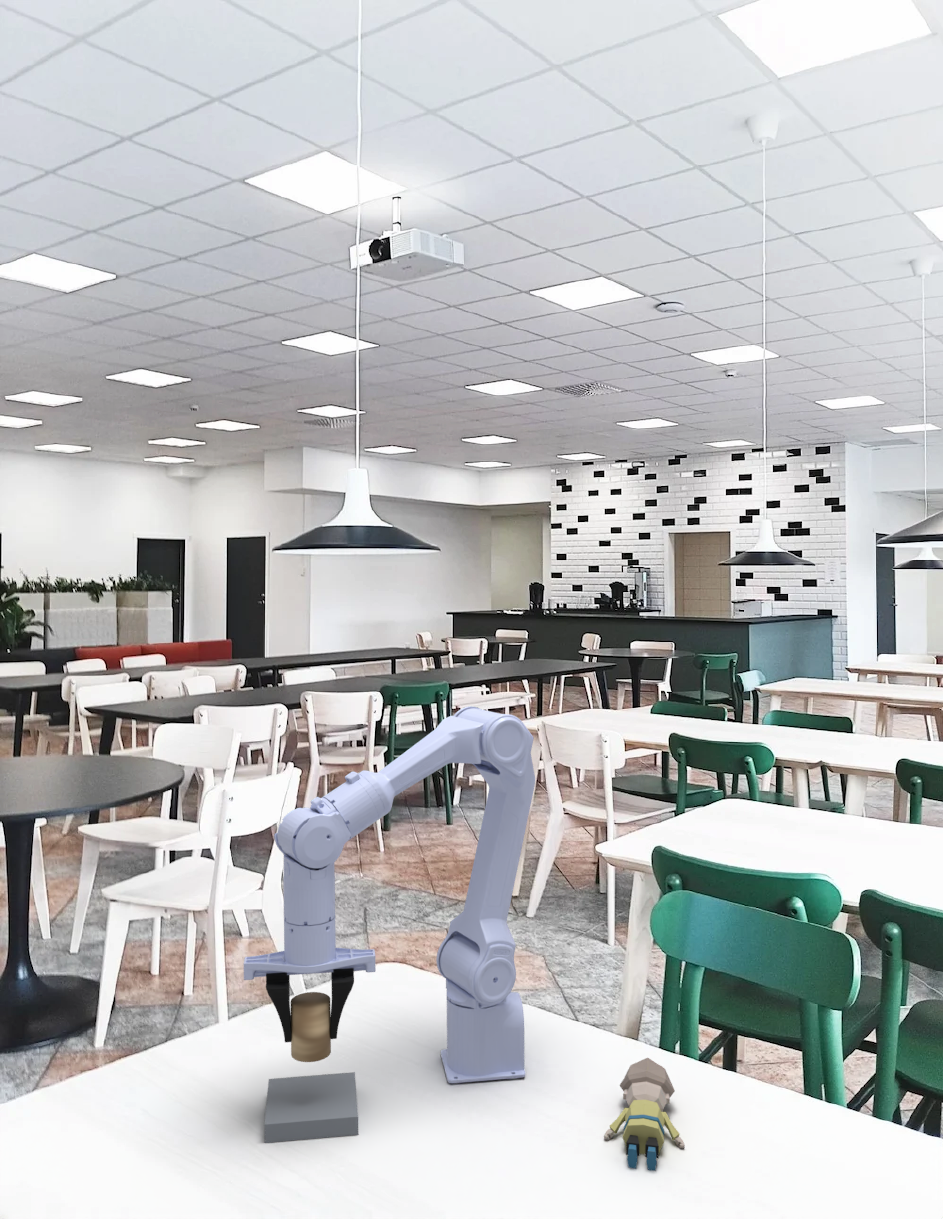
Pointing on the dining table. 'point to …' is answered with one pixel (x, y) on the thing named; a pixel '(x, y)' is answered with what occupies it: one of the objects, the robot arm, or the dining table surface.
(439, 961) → the robot arm
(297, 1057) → the oak cylinder
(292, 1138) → the plate
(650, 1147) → the toy
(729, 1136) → the dining table surface
